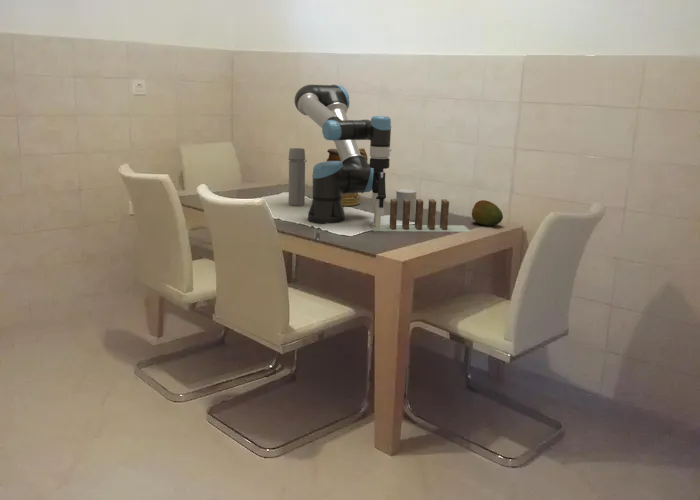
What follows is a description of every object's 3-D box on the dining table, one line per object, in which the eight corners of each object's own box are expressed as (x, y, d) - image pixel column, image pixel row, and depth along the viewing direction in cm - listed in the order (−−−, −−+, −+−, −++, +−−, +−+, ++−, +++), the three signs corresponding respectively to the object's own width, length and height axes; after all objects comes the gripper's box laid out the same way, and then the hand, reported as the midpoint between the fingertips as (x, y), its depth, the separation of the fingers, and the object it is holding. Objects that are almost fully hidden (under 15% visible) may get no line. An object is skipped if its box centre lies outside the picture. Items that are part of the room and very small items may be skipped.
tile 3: (417, 229, 261) (418, 201, 258) (414, 226, 266) (416, 199, 263) (421, 229, 261) (423, 201, 258) (419, 226, 266) (420, 199, 263)
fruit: (474, 221, 282) (476, 197, 280) (504, 224, 278) (506, 200, 275) (467, 226, 272) (469, 201, 269) (499, 229, 267) (501, 204, 265)
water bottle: (284, 204, 306) (285, 148, 300) (300, 202, 310) (300, 147, 304) (294, 207, 299) (295, 150, 292) (310, 206, 303) (311, 149, 297)
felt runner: (373, 232, 257) (373, 230, 257) (369, 225, 267) (369, 224, 267) (471, 232, 261) (471, 231, 261) (464, 226, 271) (464, 225, 271)
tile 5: (442, 229, 262) (444, 201, 259) (439, 227, 267) (441, 199, 264) (447, 229, 262) (449, 201, 259) (444, 227, 267) (446, 199, 264)
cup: (413, 222, 276) (415, 193, 273) (393, 221, 277) (395, 191, 274) (415, 218, 284) (417, 190, 281) (396, 217, 285) (398, 188, 282)
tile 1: (391, 229, 260) (392, 201, 257) (389, 226, 265) (390, 198, 262) (396, 229, 260) (397, 201, 257) (394, 226, 265) (395, 198, 262)
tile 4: (430, 229, 261) (431, 201, 259) (427, 226, 266) (428, 199, 264) (434, 229, 262) (436, 201, 259) (431, 226, 266) (433, 199, 264)
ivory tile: (375, 227, 262) (376, 199, 260) (373, 224, 267) (374, 197, 265) (380, 227, 263) (381, 199, 260) (378, 224, 267) (379, 197, 265)
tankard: (312, 201, 314) (313, 147, 308) (353, 197, 327) (355, 145, 321) (334, 208, 300) (335, 151, 294) (376, 204, 313) (378, 149, 307)
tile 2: (404, 229, 260) (405, 201, 258) (402, 226, 265) (403, 198, 262) (409, 229, 261) (410, 201, 258) (406, 226, 265) (408, 199, 263)
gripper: (394, 161, 247) (392, 218, 252) (384, 154, 271) (382, 206, 276) (374, 161, 246) (372, 218, 251) (365, 154, 270) (364, 206, 275)
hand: (377, 212), depth 263 cm, fingers open, 13 cm apart
